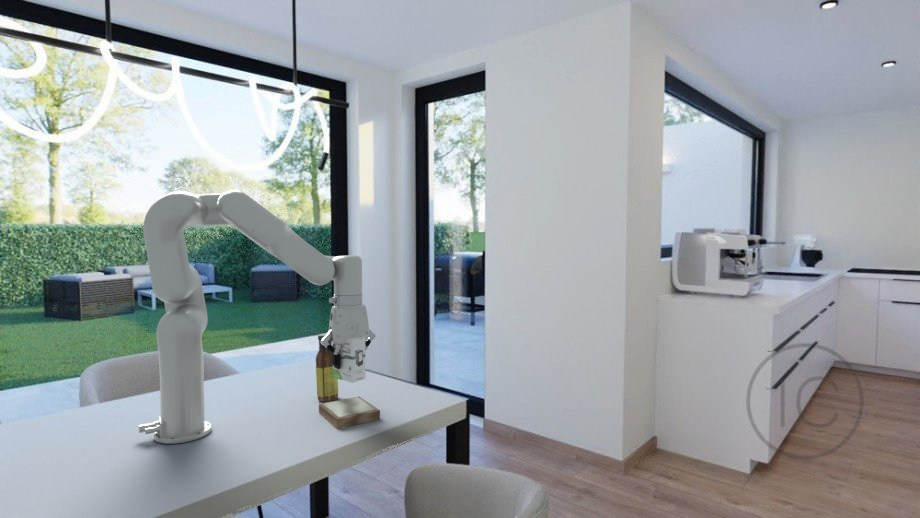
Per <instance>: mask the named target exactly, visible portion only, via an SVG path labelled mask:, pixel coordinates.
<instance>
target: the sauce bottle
mask: <svg viewBox="0 0 920 518" xmlns="http://www.w3.org/2000/svg"><path fill="white" fill-rule="evenodd" d="M327 333H328V332H326V333H319V334H318V335H317V339H318V351H317V354H316V356H315V377H316V396H317V400H318V401H319V402H324V403H327V402H332V401H337V400H338V398H339V381H338V380H339V379H337V378H333V364H332V353H331V352H330V351H329V350H328V349H327V348H326V347H325V346H324V345H322V344H321V343H320V341H321V340H322V338H323V337H324V336H325V335H326V334H327ZM328 343H329V344H330V345H331V346H332V345H333V342H331V341H330V340H329V341H328Z"/></svg>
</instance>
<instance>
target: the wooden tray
mask: <svg viewBox="0 0 920 518" xmlns="http://www.w3.org/2000/svg"><path fill="white" fill-rule="evenodd" d="M318 413H319V414H320V415H321V416H322V417H323V419H325V420H327V422H329V424H331V425H332V426H333V427H335V428H336V429H337V430H338V429H339V430H340V429H343V428H344V429H345V428H347V427H352V426H358V425H361V424H366V423H369V422H370V423H371V422H373V421H374V422H375V421H379V420H381V410H380V409H378V408H377V407H376V406H374V405H373V404H371V403H369V402H368V401H367V400H365V399H364V398H363V397H360V396H354V397H349V398H344V399H340V400H339V399H336V400H333V401H329V402H324V403H323V402H322V403H319V404H318Z"/></svg>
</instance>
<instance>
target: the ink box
mask: <svg viewBox="0 0 920 518" xmlns="http://www.w3.org/2000/svg"><path fill="white" fill-rule="evenodd" d="M339 354H340V363H341V368H340V369H336V368H335V367H334V366H333V378H337V379H338V380H340V381H344V382H349V383H352V384H353V383H357V382H360V381H364V380H366V350H365V337H357V338H351V339H347V344H342V345H341V347H340V350H339Z"/></svg>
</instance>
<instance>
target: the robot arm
mask: <svg viewBox="0 0 920 518" xmlns="http://www.w3.org/2000/svg"><path fill="white" fill-rule="evenodd" d="M229 225H230V226H231V227H233V228H234V229H236V230H237V231H239V232H240V233H241V234H242V235H244V236H245V237H247V238H248V239H249V240H251V241H252V242H253V243H255V244H256V245H257V246H259V247H260V248H262V250H264V251H266V252H267V253H268V254H270V255H271V256H273V257H275V258H277V259H278V260H279V261H281V262H282V263H283V264H285V265H286V266H287V267H288V268H290V269H291V270H293V271H294V272H295V273H297V274H299V275H300V276H301V277H302V278H304V279H305V280H307V281H308V282H309V283H311V284H313V285H316V286H324V285H327V284H328V283H330V282H331V281H333V295H332V297H329V299H328V303H329V304H333V305H332V306H331V309H330V315H329V325H328V331H327V332H326V333H327V334H326V335H325V336H324V337H323V338H322V340H321V341H320V343H321V344H322V345H324V346H325V347H326V348H327V349H328V350H329V351H330V352H331V353H332V364H333V366H334V367H335V368H336V369H340V368H341V363H340V354H339V350H340V347H341V345H342V344H347V339H351V338H357V337H365V351H366V350H367V349H368V347H369V346H370V345H371V342H373V340H374V339H376V334H375V333H374V332H373V331H372V330H371V329H370V325H369V316H368V311H367V307H366V304H363V260H362V258H361V256H358V255H353V254H350V255H337V256H333V255H325V254H323V252H320V251H319V250H318V249H316V248H315V247H314V246H313V245H311V244H310V243H308V242H307V241H306V240H304V239H303V237H301V236H300V235H299V234H297V233H296V232H295V231H294V230H293V229H292V228H291V227H290V226H289V225H288V224H286V223H285V222H284V221H283V220H281V219H280V218H279V217H277V216H276V215H275V214H273V213H272V212H270V211H269V210H268V209H267V208H265V206H262V205H261V204H260V203H259V202H257V201H256V200H255V199H253V198H252V197H251V196H250V195H248V194H246V193H245V192H243V191H241V190H238V189H230V190H227V191H225V192H223V193H209V194H208V193H207V194H206V193H202V194H198V193H197V194H193V193H191V192H188V191H183V190H182V191H181V190H179V191H177V190H176V191H172V192H169V193H167V194H165V195H163V196H162V197H160V198H158V199H156V201H155V202H154V203H153V204H152V205H151V206H149V208H148V211H147V212H146V214H145V217H144V221H143V238H144V244H145V250H146V257H147V262H148V268H149V274H150V275H149V276H150V281H151V287H152V291H153V293H154V295H155V297H156V298H157V299H158V300H160V301H161V302H163V303H164V309H165V314H163V315H162V316H161V318H160V319H159V322H158V323H157V327H156V333H155V334H156V344H157V350H158V366H159V367H158V368H159V391H160V392H159V393H160V394H159V395H160V397H159V400H160V415H159V416H158V420H154V421H153V422H150V423H143V424H142V423H141V424H138V433H139V434H142V433H145V435H148V434H149V435H150V434H152V433H153V440H154V441H155V442H156V443H159V444H166V445H168V444H169V445H170V444H171V445H172V444H173V445H174V444H182V443H188V442H193V441H195V440H198V439H201V438H204V437H205V436H207V435H208V434H210V432H211V431H212V428H213V427H212V424H211V423H210V422H209V421H207V420H205V383H204V381H205V379H204V378H205V377H204V373H205V372H204V352H203V350H204V349H203V340H202V339H203V333H204V332H205V330H206V328H207V326H208V321H209V317H208V312H207V311H208V310H207V306H206V300H205V295H204V294H205V293H204V288H203V282H202V279H201V276H200V274H199V272H198V270H197V269H196V268H195V267H194V266H193V265H191V264H190V260H189V255H188V248H187V243H186V241H185V235H184V234H185V233H184V232H185V229H186V228H196V227H216V226H229ZM329 340H330V341H331V342H332V346H331V345H330V344H329V343H328V341H329Z"/></svg>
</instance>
